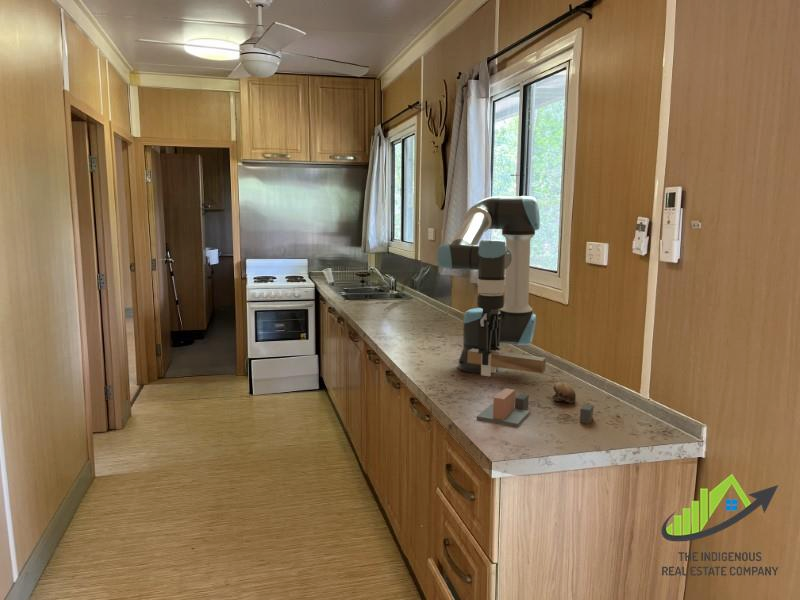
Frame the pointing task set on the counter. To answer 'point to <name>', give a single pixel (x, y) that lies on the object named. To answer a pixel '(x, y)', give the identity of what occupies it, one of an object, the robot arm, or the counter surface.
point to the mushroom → (564, 392)
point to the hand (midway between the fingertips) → (488, 373)
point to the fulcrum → (504, 410)
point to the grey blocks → (585, 410)
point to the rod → (510, 361)
